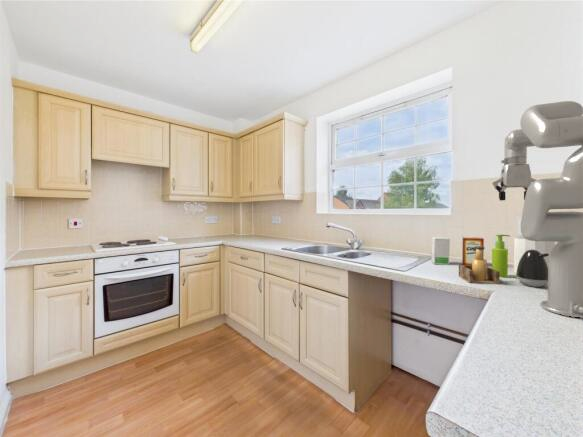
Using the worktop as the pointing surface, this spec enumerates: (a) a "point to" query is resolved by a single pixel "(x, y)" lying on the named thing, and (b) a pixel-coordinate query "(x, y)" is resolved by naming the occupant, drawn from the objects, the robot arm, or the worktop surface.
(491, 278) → the open wooden box
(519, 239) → the container
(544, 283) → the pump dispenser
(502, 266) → the soap dispenser
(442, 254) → the skincare box
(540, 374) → the worktop surface
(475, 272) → the amber bottle
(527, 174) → the robot arm
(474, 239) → the baking soda box
